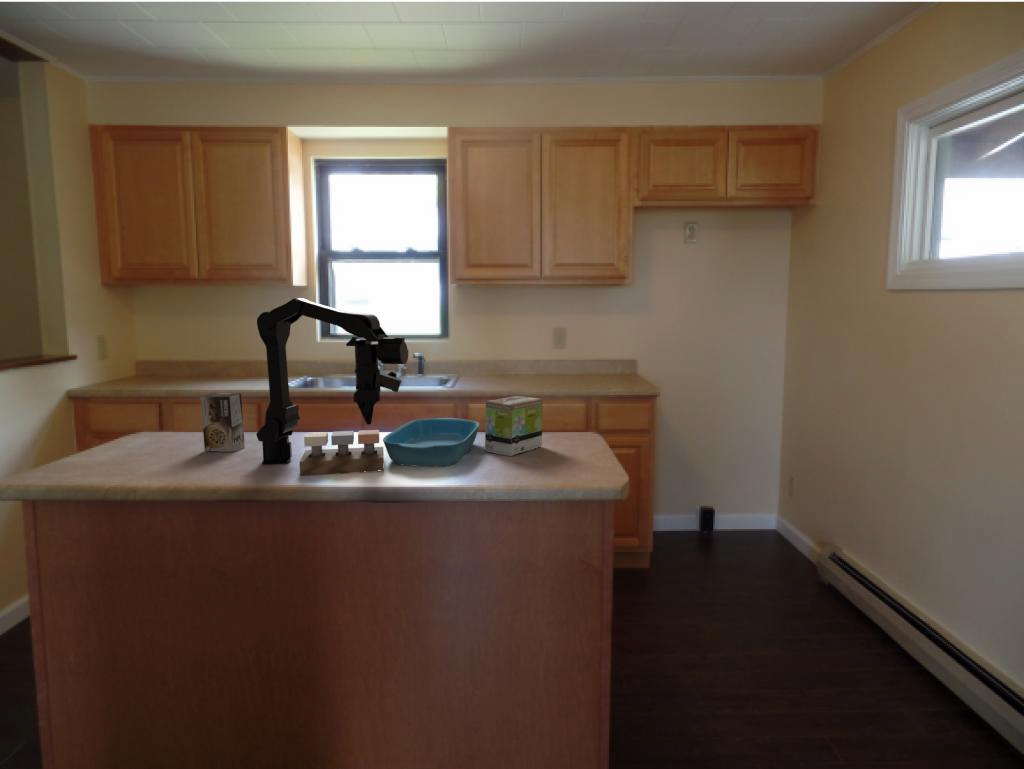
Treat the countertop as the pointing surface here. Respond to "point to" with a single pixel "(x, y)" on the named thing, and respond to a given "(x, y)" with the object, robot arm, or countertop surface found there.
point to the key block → (341, 462)
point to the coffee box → (222, 422)
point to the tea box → (513, 425)
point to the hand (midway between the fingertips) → (368, 424)
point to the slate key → (342, 441)
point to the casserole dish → (431, 441)
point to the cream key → (316, 442)
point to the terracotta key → (368, 440)
